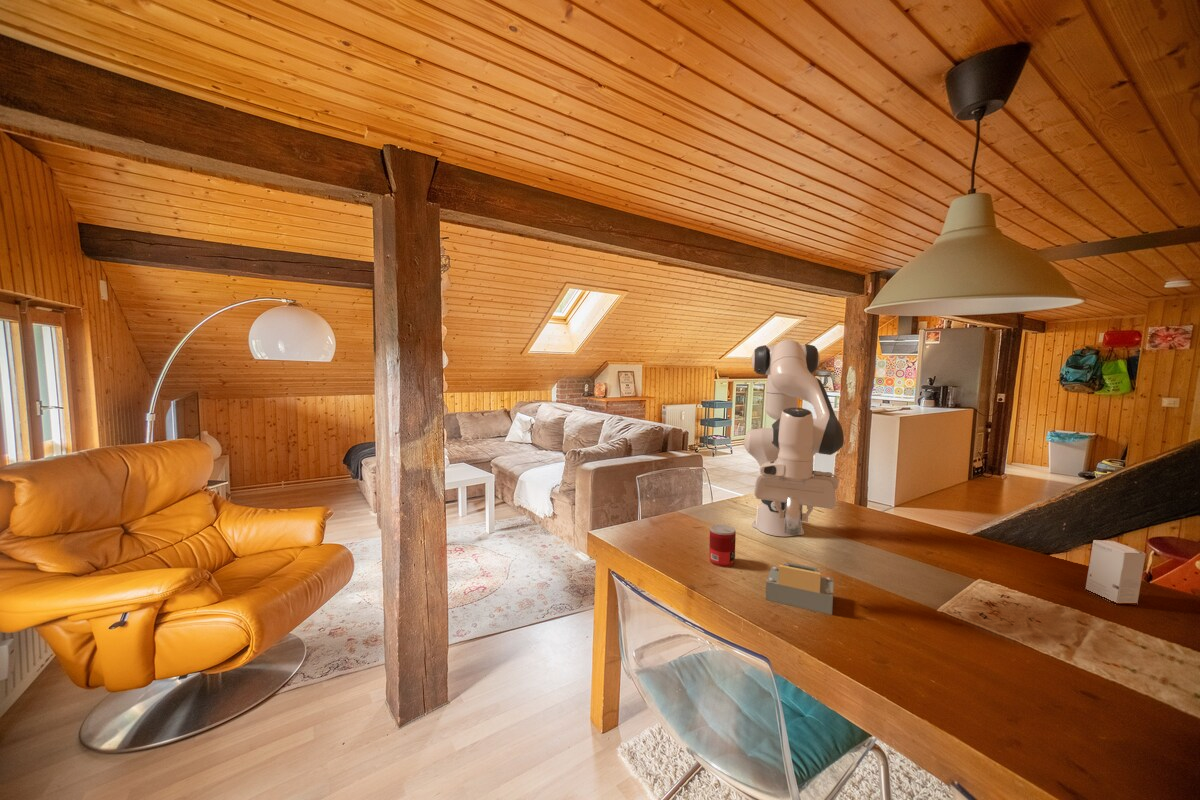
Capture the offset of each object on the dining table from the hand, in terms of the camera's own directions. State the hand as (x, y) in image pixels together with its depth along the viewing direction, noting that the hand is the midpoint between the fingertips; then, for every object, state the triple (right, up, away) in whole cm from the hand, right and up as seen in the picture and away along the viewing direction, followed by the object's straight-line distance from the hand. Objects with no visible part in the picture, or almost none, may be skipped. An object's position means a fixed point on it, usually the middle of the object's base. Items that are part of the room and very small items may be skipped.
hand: (793, 519), depth 124 cm
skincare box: (+87, -22, +1) cm, 90 cm away
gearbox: (+2, -22, +1) cm, 22 cm away
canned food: (-13, -20, +23) cm, 33 cm away
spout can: (0, -4, 0) cm, 4 cm away
